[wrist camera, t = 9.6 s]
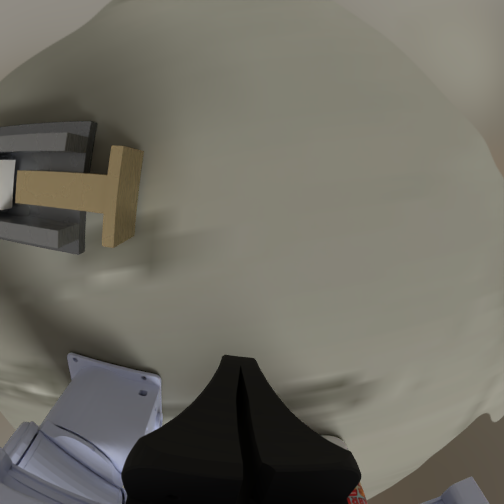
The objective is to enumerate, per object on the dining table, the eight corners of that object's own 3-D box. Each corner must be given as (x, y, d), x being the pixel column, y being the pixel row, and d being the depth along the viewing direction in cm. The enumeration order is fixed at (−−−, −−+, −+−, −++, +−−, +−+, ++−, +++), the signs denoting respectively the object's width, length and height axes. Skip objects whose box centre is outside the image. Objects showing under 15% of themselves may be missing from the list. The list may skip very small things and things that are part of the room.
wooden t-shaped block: (144, 151, 19) (123, 145, 15) (134, 235, 20) (113, 247, 16) (41, 147, 18) (12, 145, 14) (35, 220, 19) (6, 229, 16)
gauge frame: (97, 123, 18) (62, 111, 14) (84, 251, 21) (50, 269, 16) (1, 128, 18) (-34, 124, 13) (-6, 234, 20) (-40, 245, 15)
